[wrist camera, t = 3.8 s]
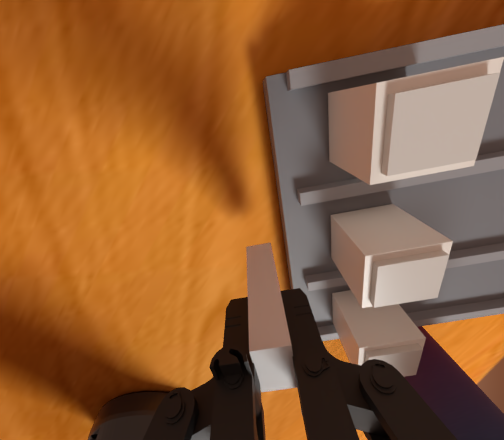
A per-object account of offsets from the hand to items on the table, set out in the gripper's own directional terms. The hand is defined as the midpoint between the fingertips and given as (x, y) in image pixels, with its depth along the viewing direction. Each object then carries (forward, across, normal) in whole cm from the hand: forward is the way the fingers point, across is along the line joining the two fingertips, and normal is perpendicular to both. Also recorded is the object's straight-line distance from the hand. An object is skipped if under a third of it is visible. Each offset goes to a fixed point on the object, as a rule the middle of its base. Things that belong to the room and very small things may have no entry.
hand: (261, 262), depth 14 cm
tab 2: (+2, +7, -7) cm, 10 cm away
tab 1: (+2, +7, +7) cm, 10 cm away
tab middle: (+2, +7, 0) cm, 7 cm away
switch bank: (+4, +12, 0) cm, 12 cm away
